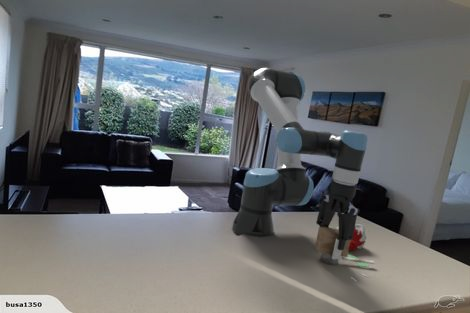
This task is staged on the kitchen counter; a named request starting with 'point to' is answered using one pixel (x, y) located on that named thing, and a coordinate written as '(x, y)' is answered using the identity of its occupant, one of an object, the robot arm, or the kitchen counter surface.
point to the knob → (327, 244)
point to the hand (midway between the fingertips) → (328, 253)
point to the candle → (357, 237)
